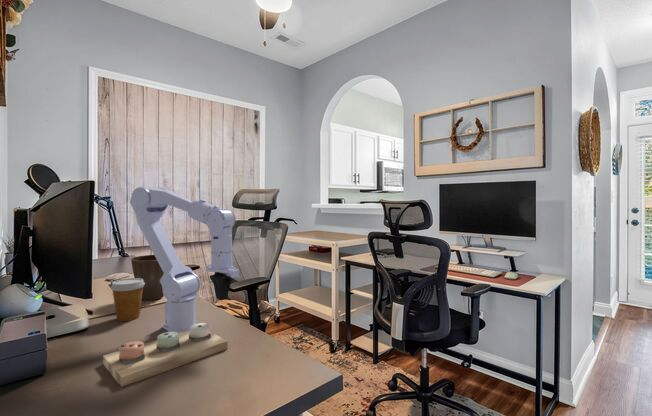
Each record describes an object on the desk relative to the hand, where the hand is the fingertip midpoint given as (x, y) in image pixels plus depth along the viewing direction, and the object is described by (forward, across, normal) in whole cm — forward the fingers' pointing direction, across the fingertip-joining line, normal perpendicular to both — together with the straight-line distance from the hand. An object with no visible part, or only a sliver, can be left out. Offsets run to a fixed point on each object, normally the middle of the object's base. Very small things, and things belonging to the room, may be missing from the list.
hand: (222, 299), depth 94 cm
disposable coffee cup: (+10, -34, -14) cm, 38 cm away
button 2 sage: (+7, +3, -16) cm, 18 cm away
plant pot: (+10, -52, 0) cm, 53 cm away
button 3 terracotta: (+7, +3, -24) cm, 25 cm away
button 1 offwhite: (+7, +3, -8) cm, 11 cm away
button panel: (+10, +3, -16) cm, 19 cm away
